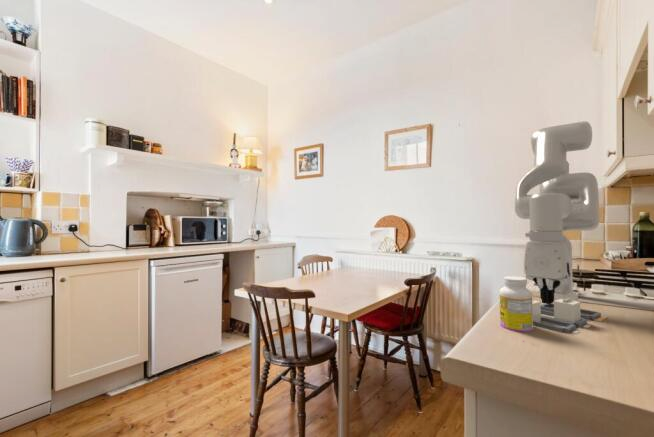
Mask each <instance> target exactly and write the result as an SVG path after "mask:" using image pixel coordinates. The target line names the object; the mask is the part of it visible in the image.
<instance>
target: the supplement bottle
mask: <svg viewBox="0 0 654 437" xmlns="http://www.w3.org/2000/svg"><path fill="white" fill-rule="evenodd" d="M503 283H504V287H501V288H500V289H499V319H500V320H499V324H500V327H501V328H503V329H506V330H509V331H513V332H520V333H526V332H527V333H529V332H532V331H534V326H533V310H532V300H533V293H532V291H531V290H530V289H528V288H527V284H528V279H527V278H526V277H523V276H516V275H515V276H512V275H507V276H504V277H503Z"/></svg>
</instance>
